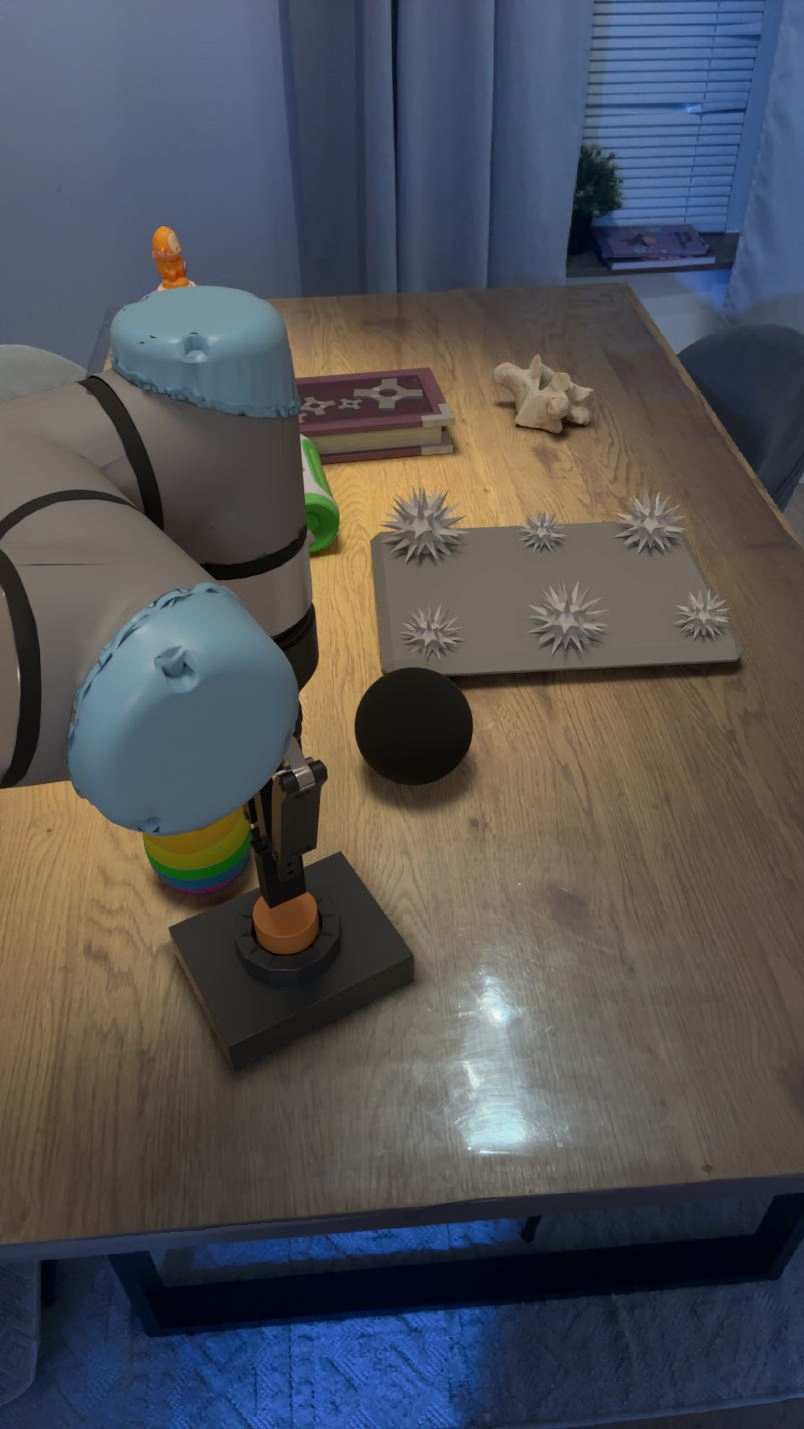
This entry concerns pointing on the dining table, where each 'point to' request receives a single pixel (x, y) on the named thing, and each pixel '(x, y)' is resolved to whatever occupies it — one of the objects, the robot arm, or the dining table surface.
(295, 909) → the orange button
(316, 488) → the speaker
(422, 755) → the decorative ball
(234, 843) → the decorative egg
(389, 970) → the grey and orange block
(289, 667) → the robot arm
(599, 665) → the decorative tray
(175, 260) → the stacking toy
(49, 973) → the dining table surface
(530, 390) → the decorative object
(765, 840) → the dining table surface
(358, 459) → the book
